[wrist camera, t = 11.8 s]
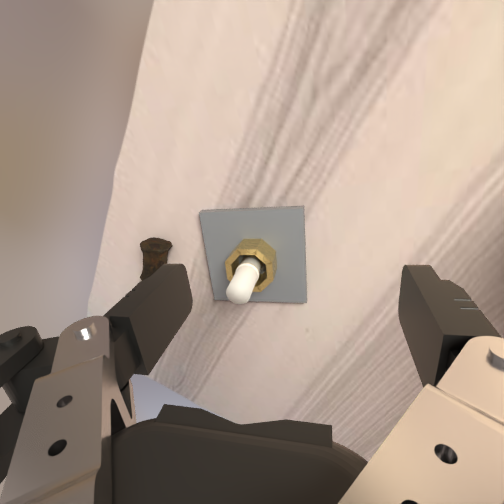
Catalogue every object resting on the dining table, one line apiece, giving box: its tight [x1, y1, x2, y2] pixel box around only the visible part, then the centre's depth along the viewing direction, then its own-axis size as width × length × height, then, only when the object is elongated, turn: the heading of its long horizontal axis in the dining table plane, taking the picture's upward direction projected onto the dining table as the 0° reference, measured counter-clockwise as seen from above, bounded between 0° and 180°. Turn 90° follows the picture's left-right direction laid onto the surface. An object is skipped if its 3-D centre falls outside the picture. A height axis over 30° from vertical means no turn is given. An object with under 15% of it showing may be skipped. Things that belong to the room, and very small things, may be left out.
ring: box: [225, 239, 277, 292], centre depth 40 cm, size 6×6×4 cm
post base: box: [199, 206, 307, 304], centre depth 38 cm, size 14×14×10 cm
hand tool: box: [140, 238, 172, 281], centre depth 47 cm, size 19×4×5 cm, turn 165°
